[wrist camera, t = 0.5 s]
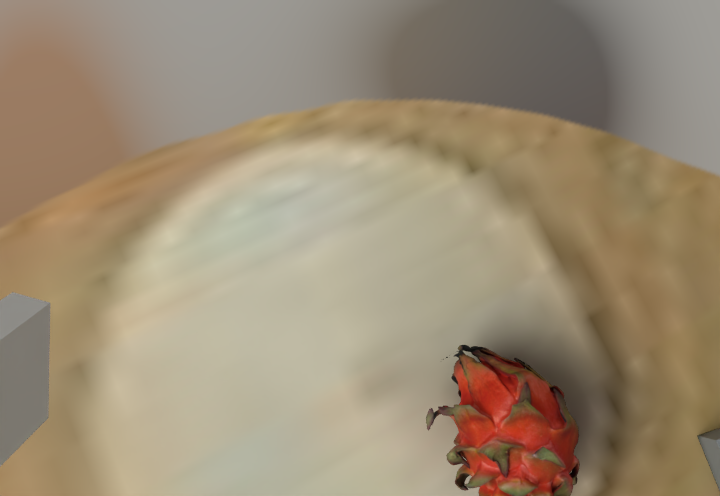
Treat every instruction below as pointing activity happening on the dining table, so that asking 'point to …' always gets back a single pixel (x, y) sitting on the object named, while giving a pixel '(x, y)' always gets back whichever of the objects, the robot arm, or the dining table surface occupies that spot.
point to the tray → (712, 451)
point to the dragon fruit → (510, 429)
